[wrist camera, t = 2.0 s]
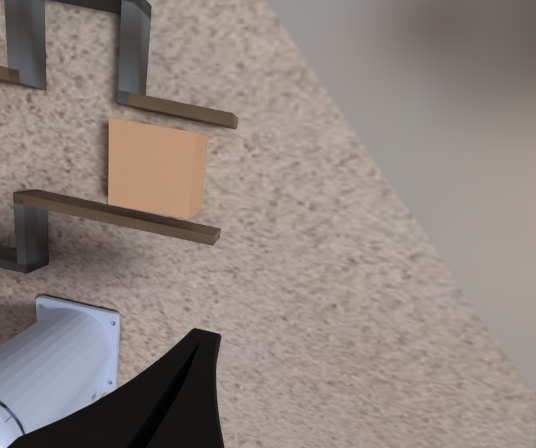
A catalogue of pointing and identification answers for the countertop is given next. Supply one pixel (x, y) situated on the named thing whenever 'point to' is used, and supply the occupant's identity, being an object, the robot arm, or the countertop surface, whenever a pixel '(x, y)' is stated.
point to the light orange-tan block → (156, 168)
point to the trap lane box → (129, 93)
